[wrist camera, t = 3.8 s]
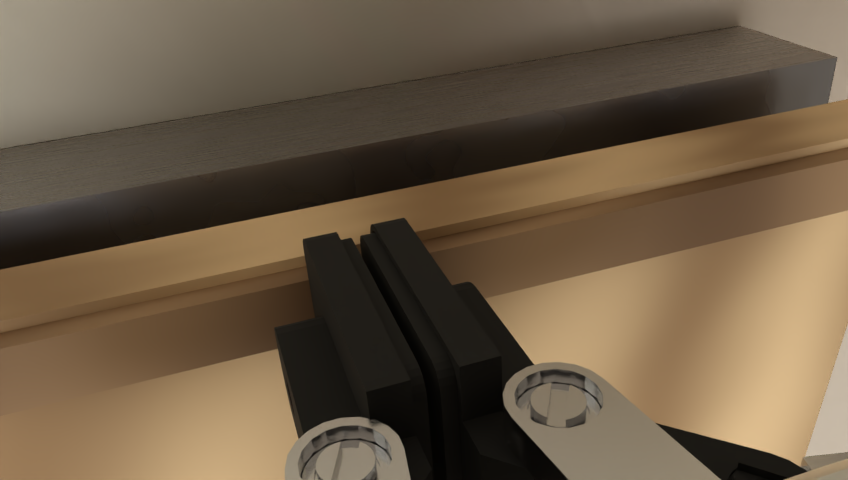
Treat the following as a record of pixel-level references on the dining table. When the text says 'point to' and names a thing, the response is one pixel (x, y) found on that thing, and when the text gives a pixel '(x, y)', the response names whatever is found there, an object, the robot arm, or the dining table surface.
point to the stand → (387, 139)
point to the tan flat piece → (460, 262)
